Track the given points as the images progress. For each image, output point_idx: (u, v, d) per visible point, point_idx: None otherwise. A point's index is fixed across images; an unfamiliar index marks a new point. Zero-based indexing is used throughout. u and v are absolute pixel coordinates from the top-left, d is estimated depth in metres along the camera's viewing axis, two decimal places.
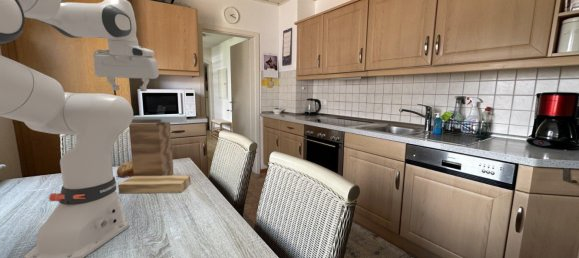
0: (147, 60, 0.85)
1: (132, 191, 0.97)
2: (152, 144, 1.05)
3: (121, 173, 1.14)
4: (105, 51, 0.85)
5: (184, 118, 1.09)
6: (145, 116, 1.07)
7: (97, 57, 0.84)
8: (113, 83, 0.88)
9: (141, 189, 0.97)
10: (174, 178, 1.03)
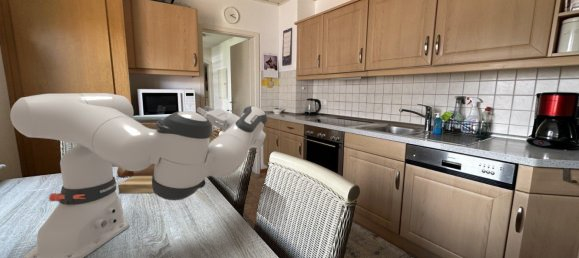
0: None
1: (132, 191, 0.97)
2: None
3: (121, 173, 1.14)
4: None
5: None
6: (145, 116, 1.07)
7: None
8: None
9: (141, 189, 0.97)
10: None
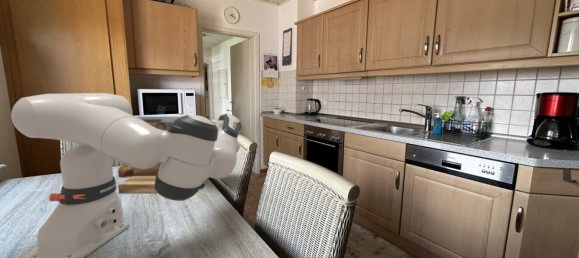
0: None
1: (132, 191, 0.97)
2: None
3: (122, 173, 1.14)
4: None
5: None
6: (145, 116, 1.07)
7: None
8: None
9: (141, 189, 0.97)
10: None
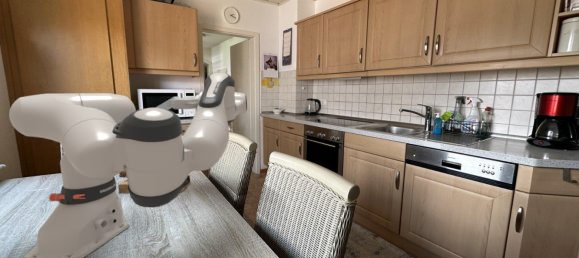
0: None
1: None
2: None
3: (123, 173, 1.14)
4: None
5: (177, 98, 0.97)
6: None
7: (192, 108, 0.90)
8: None
9: None
10: None
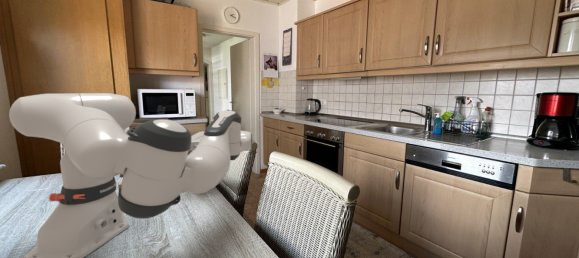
0: None
1: None
2: None
3: (123, 173, 1.14)
4: None
5: None
6: None
7: None
8: None
9: None
10: None
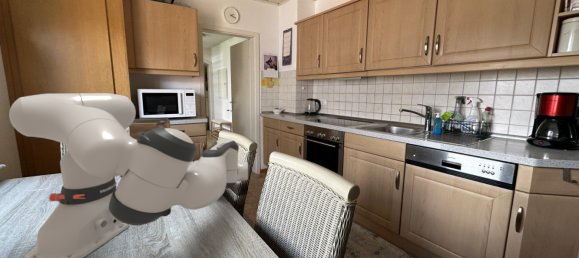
0: None
1: None
2: None
3: None
4: None
5: None
6: None
7: None
8: None
9: None
10: None
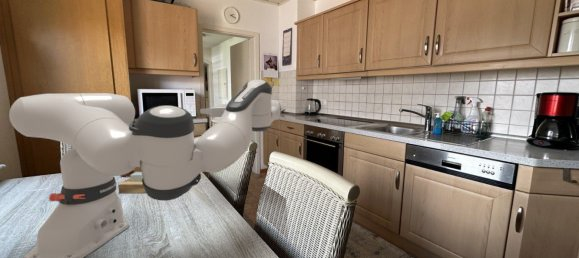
0: None
1: (132, 191, 0.97)
2: None
3: None
4: None
5: None
6: None
7: None
8: None
9: (141, 189, 0.97)
10: None
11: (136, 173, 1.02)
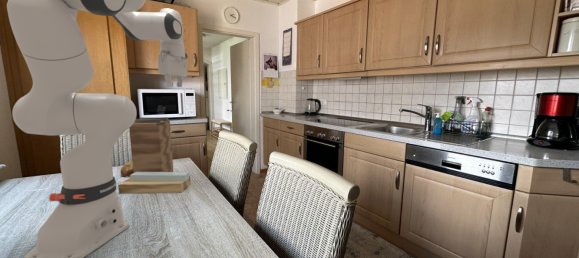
0: None
1: (132, 191, 0.97)
2: (152, 144, 1.05)
3: (124, 173, 1.14)
4: (167, 52, 0.96)
5: (186, 176, 1.02)
6: (145, 174, 1.01)
7: (168, 56, 0.94)
8: None
9: (141, 189, 0.97)
10: None
11: (136, 173, 1.02)
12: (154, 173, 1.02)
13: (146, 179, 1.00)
